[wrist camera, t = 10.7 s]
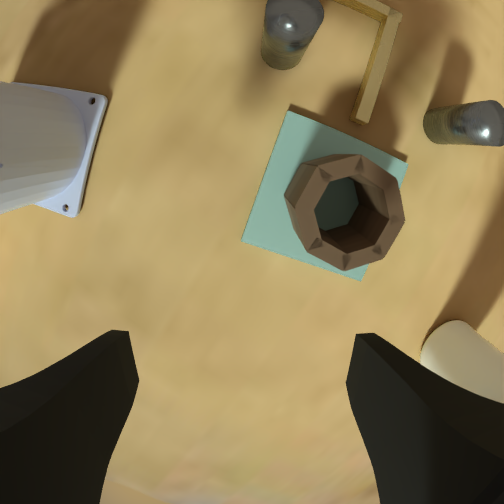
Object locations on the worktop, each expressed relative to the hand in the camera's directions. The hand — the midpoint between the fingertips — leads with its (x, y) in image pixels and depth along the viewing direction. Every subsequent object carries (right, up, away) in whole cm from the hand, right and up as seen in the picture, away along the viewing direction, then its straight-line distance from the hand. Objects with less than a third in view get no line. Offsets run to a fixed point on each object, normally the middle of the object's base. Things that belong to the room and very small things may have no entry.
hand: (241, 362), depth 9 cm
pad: (+5, +7, +9) cm, 12 cm away
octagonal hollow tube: (+5, +6, +8) cm, 12 cm away
